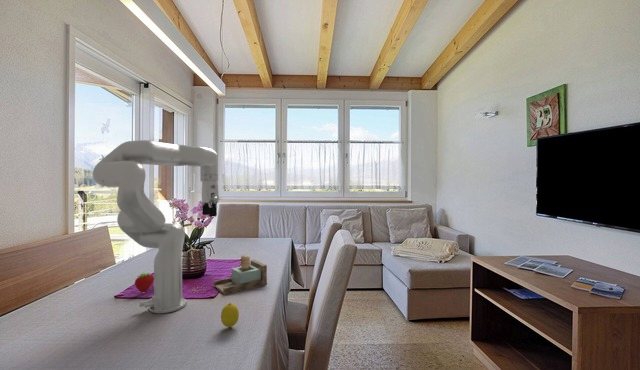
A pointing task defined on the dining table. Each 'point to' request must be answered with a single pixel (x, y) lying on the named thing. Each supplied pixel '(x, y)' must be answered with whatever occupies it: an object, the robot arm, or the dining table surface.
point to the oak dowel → (245, 263)
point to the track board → (230, 287)
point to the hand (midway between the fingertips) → (209, 215)
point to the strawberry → (144, 282)
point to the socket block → (245, 275)
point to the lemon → (229, 315)
